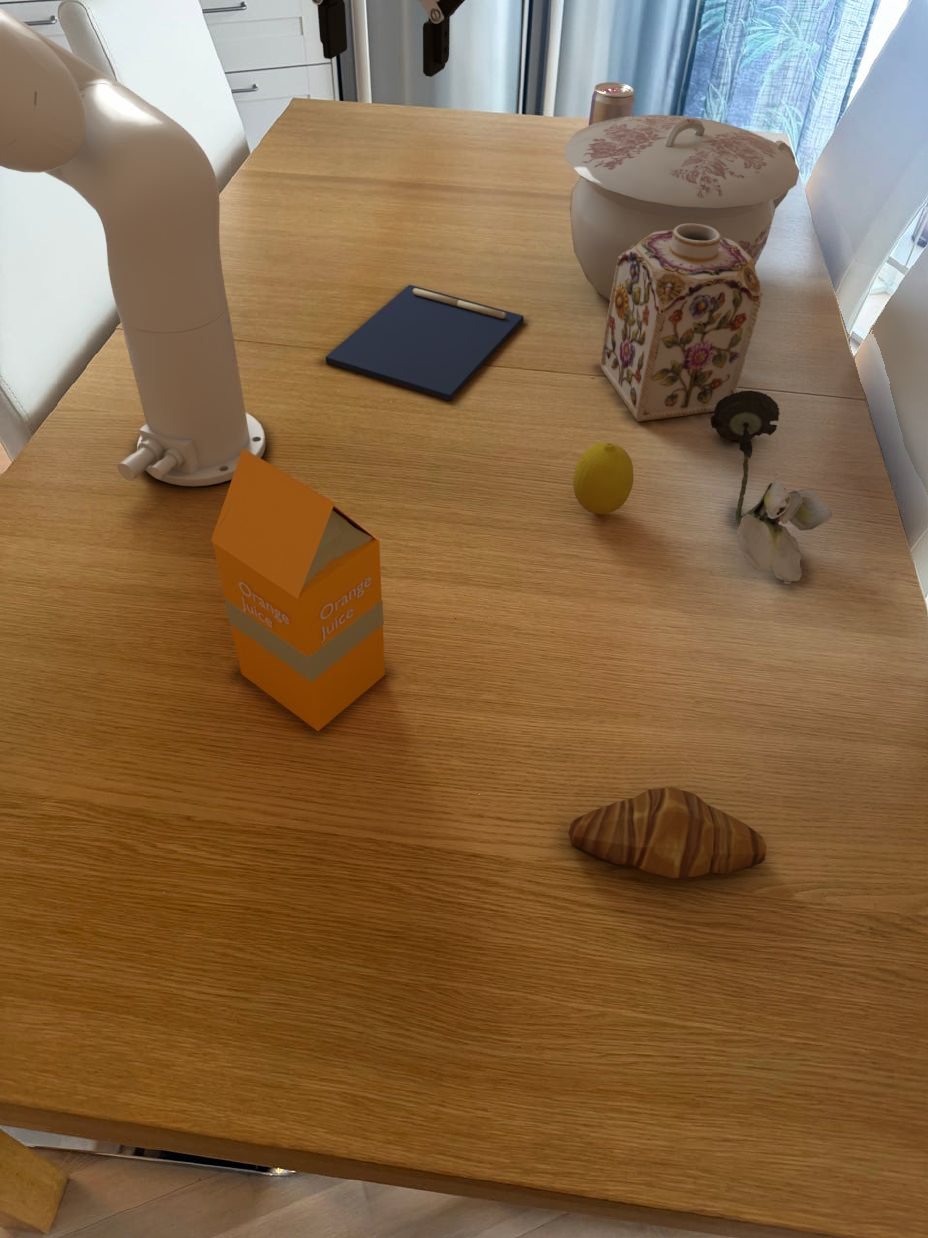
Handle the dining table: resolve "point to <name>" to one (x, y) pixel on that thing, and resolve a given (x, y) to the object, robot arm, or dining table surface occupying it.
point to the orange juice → (299, 592)
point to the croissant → (668, 835)
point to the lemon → (603, 478)
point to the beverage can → (611, 102)
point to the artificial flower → (767, 490)
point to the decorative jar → (679, 322)
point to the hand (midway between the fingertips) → (384, 62)
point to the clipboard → (426, 341)
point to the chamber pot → (671, 185)
